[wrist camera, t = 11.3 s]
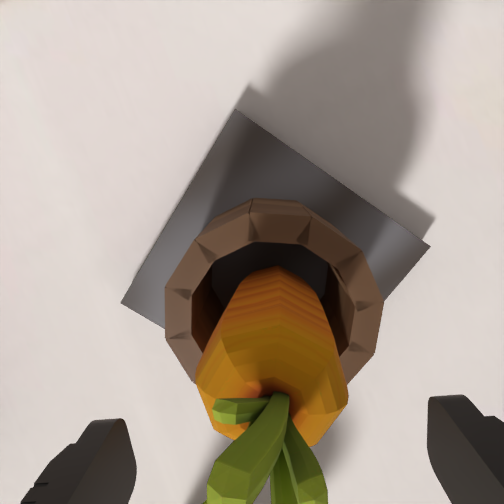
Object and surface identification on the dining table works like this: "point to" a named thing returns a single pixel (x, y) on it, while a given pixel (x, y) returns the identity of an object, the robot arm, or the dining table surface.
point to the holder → (271, 246)
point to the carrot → (271, 390)
